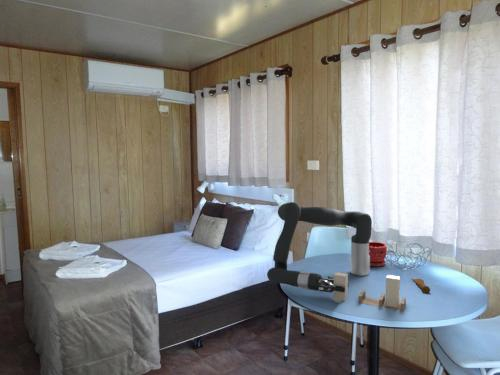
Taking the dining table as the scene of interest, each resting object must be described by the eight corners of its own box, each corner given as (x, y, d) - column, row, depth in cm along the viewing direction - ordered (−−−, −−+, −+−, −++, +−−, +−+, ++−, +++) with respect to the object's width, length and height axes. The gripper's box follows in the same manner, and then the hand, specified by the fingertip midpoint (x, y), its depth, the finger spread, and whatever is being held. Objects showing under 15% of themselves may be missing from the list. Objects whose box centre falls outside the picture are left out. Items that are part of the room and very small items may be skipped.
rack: (362, 298, 159) (362, 289, 159) (405, 306, 151) (405, 297, 150) (358, 305, 152) (358, 295, 152) (403, 314, 144) (403, 303, 143)
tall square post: (386, 302, 152) (387, 274, 151) (399, 304, 150) (400, 276, 149) (385, 305, 149) (386, 277, 148) (398, 308, 146) (399, 279, 145)
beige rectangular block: (336, 298, 160) (336, 272, 159) (347, 300, 157) (347, 273, 156) (333, 301, 156) (334, 274, 155) (345, 303, 154) (345, 276, 153)
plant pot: (369, 259, 219) (370, 240, 218) (390, 264, 210) (390, 244, 209) (358, 264, 211) (358, 244, 210) (379, 269, 201) (379, 248, 200)
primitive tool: (410, 279, 184) (410, 273, 184) (421, 280, 184) (422, 273, 183) (422, 294, 165) (422, 286, 165) (434, 294, 165) (435, 287, 164)
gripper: (303, 277, 157) (342, 284, 148) (314, 268, 169) (350, 274, 161) (303, 294, 157) (342, 301, 149) (314, 284, 170) (350, 290, 162)
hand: (346, 287), depth 155 cm, fingers open, 5 cm apart
